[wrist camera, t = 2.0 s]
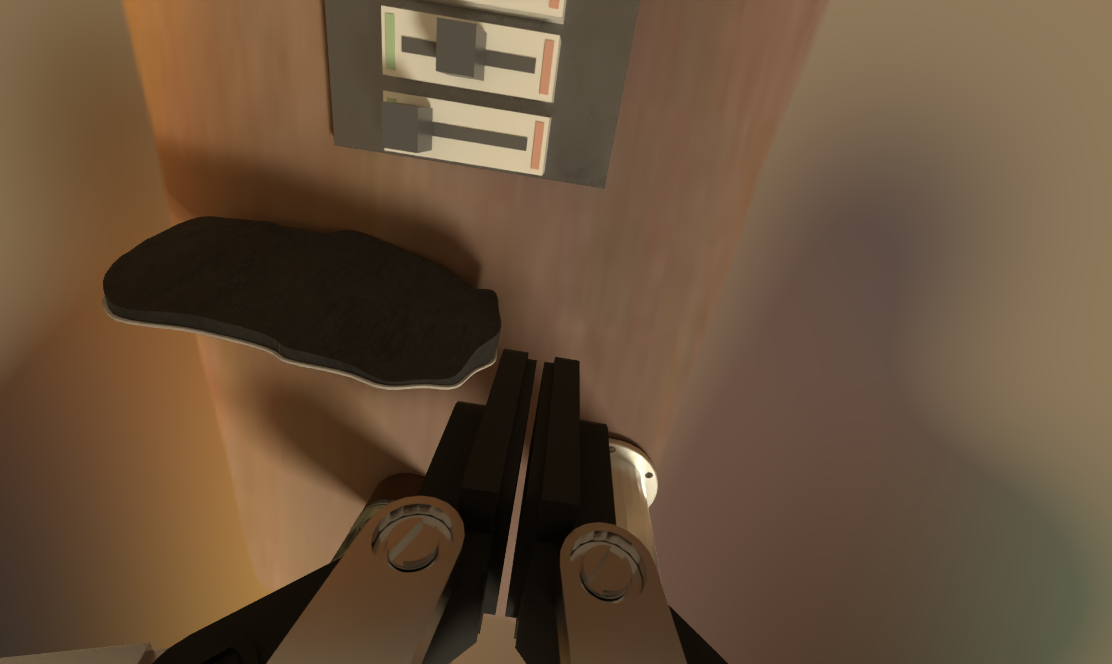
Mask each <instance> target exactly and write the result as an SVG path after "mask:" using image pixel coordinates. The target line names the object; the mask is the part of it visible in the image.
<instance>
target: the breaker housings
mask: <svg viewBox="0 0 1112 664" xmlns="http://www.w3.org/2000/svg"><path fill="white" fill-rule="evenodd" d="M421 1H427V2H433V3H439V4H445V5H451V6H457V7H463V8H469V9H475V10H481V11H487V12H493V13H499V14H505V15H511V16H516V17H522V18H528V19H534V20H540V21H546V22H552V23H558V24H564V16H565V8H566V0H421ZM437 17H438V18H444V19H450V20H456V21H462V22H468V23H474V24H477V25H478V26H480V27H481V28H482V29H483V30H484V31H485V32H486V33H487V39H486V54H485V70H484V81H480V80H474V79H468V78H462V77H456V76H450V75H447V74H444V73H440V72H437V71H436V34H437ZM381 25H382V68H383V75H388V76H392V77H397V78H403V79H409V80H415V81H421V82H428V83H434V84H440V85H446V86H452V87H458V88H464V89H470V90H476V91H482V92H488V93H494V94H501V95H507V96H513V97H519V98H525V99H531V100H537V101H543V102H549V103H553V102H554V94H555V86H556V78H557V71H558V63H559V55H560V47H561V38H560V35H554V34H548V33H543V32H537V31H531V30H525V29H519V28H513V27H507V26H501V25H495V24H489V23H483V22H477V21H471V20H465V19H459V18H453V17H447V16H441V15H435V14H429V13H423V12H417V11H411V10H405V9H399V8H393V7H387V6H381ZM383 101H386V102H398V103H404V104H411V105H417V106H423V107H429V108H433V121H432V150H430V151H426V152H421V153H413V152H407V151H401V150H394V149H388V148H384V150H385V151H391V152H398V153H404V154H410V155H416V156H422V157H429V158H435V159H441V160H447V161H454V162H460V163H466V164H472V165H478V166H485V167H491V168H497V169H503V170H509V171H516V172H522V173H528V174H534V175H540V176H542V175H543V174H544V172H545V164H546V156H547V149H548V141H549V133H550V125H551V118H550V117H544V116H538V115H532V114H526V113H520V112H514V111H507V110H501V109H495V108H489V107H483V106H477V105H471V104H465V103H459V102H452V101H446V100H440V99H434V98H428V97H422V96H416V95H410V94H404V93H397V92H391V91H383Z"/></svg>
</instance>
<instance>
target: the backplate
mask: <svg viewBox="0 0 1112 664" xmlns="http://www.w3.org/2000/svg"><path fill="white" fill-rule="evenodd" d="M324 1H325V15H326V29H327V44H328V58H329V72H330V87H331V101H332V115H333V130H334V144H335V145H337V146H344V147H350V148H356V149H362V150H368V151H375V152H381V153H387V154H393V155H399V156H406V157H412V158H418V159H424V160H431V161H437V162H443V163H449V164H455V165H462V166H468V167H474V168H480V169H486V170H493V171H499V172H505V173H511V174H518V175H524V176H530V177H536V178H542V179H549V180H555V181H561V182H567V183H573V184H580V185H586V186H592V187H598V188H605V183H606V177H607V172H608V167H609V161H610V156H611V151H612V145H613V140H614V135H615V129H616V124H617V119H618V113H619V108H620V103H621V97H622V92H623V87H624V81H625V76H626V71H627V66H628V60H629V55H630V50H631V44H632V39H633V34H634V28H635V23H636V18H637V12H638V7H639V2H640V0H566V8H565V16H564V24H558V23H552V22H546V21H540V20H534V19H528V18H522V17H516V16H511V15H505V14H499V13H493V12H487V11H481V10H475V9H469V8H463V7H457V6H451V5H445V4H439V3H433V2H427V1H421V0H324ZM381 6H387V7H393V8H399V9H405V10H411V11H417V12H423V13H429V14H435V15H441V16H447V17H453V18H459V19H465V20H471V21H477V22H483V23H489V24H495V25H501V26H507V27H513V28H519V29H525V30H531V31H537V32H543V33H548V34H554V35H560V38H561V47H560V55H559V63H558V71H557V78H556V86H555V94H554V102H553V103H549V102H543V101H537V100H531V99H525V98H519V97H513V96H507V95H501V94H494V93H488V92H482V91H476V90H470V89H464V88H458V87H452V86H446V85H440V84H434V83H428V82H421V81H415V80H409V79H403V78H397V77H392V76H388V75H383V68H382V25H381ZM383 91H391V92H397V93H404V94H410V95H416V96H422V97H428V98H434V99H440V100H446V101H452V102H459V103H465V104H471V105H477V106H483V107H489V108H495V109H501V110H507V111H514V112H520V113H526V114H532V115H538V116H544V117H550V118H551V125H550V133H549V141H548V149H547V156H546V164H545V172H544V174H543V175H542V176H540V175H534V174H528V173H522V172H516V171H509V170H503V169H497V168H491V167H485V166H478V165H472V164H466V163H460V162H454V161H447V160H441V159H435V158H429V157H422V156H416V155H410V154H404V153H398V152H391V151H385V150H384V148H382V122H381V101H383Z"/></svg>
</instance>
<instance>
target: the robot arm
mask: <svg viewBox="0 0 1112 664" xmlns="http://www.w3.org/2000/svg"><path fill="white" fill-rule="evenodd" d="M536 362H537V360H530V359H528V353H527V352H521V351H515V350H509V349H504V350H503V353H502V356H501V360H500V363H499V366H498V369H497V372H496V375H495V379H494V382H493V385H492V388H491V391H490V394H489V398H488V401H487V404H486V406H485V405H479V404H473V403H466V402H460V401H458V402H457V403H456V405H455V407H454V409H453V411H452V414H451V416H450V419H449V421H448V423H447V426H446V428H445V431H444V433H443V435H442V438H441V440H440V442H439V445H438V447H437V450H436V452H435V454H434V457H433V459H432V461H431V464H430V466H429V469H428V471H427V473H426V476H425V478H424V480H423V483H422V485H421V488H420V490H419V492H418V495H417V496H413V497H405V498H402V499H399V500H397V501H394V502H391V503H389V504H388V505H386V506H385V507H383V508H381V509H380V510H378V511H377V512H376V513H375V514H374V515H373V517H372V518H371V519H370V520H369V521H368V522H367V523H366V525H365V526H364V527H363V529H362V530H361V532H360V533H359V534H358V536H357V537H356V539H355V540H354V541H353V543H352V544H351V546H350V547H349V548H348V550H347V551H346V553H345V554H344V555H343V557H341V558H339V559H337V560H335V561H333V562H331V563H329V564H327V565H325V566H323V567H321V568H319V569H318V570H316V571H314V572H312V573H310V574H308V575H306V576H304V577H302V578H300V579H298V580H296V581H294V582H292V583H290V584H288V585H286V586H284V587H282V588H280V589H279V590H277V591H275V592H273V593H271V594H269V595H267V596H265V597H263V598H261V599H259V600H257V601H255V602H253V603H251V604H249V605H247V606H245V607H244V608H242V609H240V610H238V611H236V612H234V613H232V614H230V615H228V616H226V617H224V618H222V619H220V620H218V621H216V622H214V623H212V624H210V625H208V626H206V627H204V628H203V629H201V630H199V631H197V632H195V633H193V634H191V635H189V636H188V637H186V638H184V639H183V640H181V641H180V642H178V643H176V644H175V645H173V646H172V647H170V648H167V649H158V650H153V649H152V647H151V645H150V643H140V644H131V645H121V646H112V647H102V648H92V649H83V650H73V651H64V652H54V653H46V654H35V655H26V656H16V657H6V658H0V664H452V662H453V660H454V659H456V658H457V657H458V656H459V655H461V654H462V653H463V652H464V651H466V650H467V649H468V648H470V647H471V646H472V645H473V644H475V643H476V641H477V635H478V633H479V634H480V629H481V624H482V618H483V613H485V614H492V615H495V613H496V607H497V601H498V595H499V589H500V583H501V577H502V571H503V565H504V559H505V553H506V547H507V541H508V535H509V529H510V523H511V517H512V511H513V505H514V499H515V493H516V487H517V481H518V475H519V469H520V463H521V457H522V451H523V444H524V438H525V432H526V425H527V419H528V413H529V407H530V400H531V394H532V388H533V381H534V375H535V369H536ZM657 489H658V478H657V474H656V470H655V467H654V465H653V463H652V461H651V460H650V459H649V458H648V456H647V455H646V454H645V453H644V452H642V451H641V450H640V449H639V448H637V447H635V446H633V445H632V444H629V443H627V442H624V441H621V440H616V439H611V438H609V436H608V428H607V425H606V424H601V423H594V422H588V421H582V420H580V378H579V361H577V360H571V359H565V358H559V357H555V360H554V363H549V362H545V363H544V368H543V374H542V380H541V386H540V392H539V398H538V404H537V410H536V416H535V422H534V428H533V434H532V440H531V446H530V451H529V458H528V464H527V470H526V477H525V484H524V491H523V498H522V505H521V511H520V518H519V525H518V532H517V539H516V545H515V552H514V559H513V566H512V573H511V580H510V586H509V593H508V600H507V607H506V614H505V616H506V617H513V618H517V619H516V628H515V636H514V638H515V639H516V647H515V648H516V649H517V651H518V652H519V653H520V655H521V657H522V658H523V660H524V661H525V662H526V664H728V663H727V662H726V661H725V660H724V659H723V658H722V657H721V656H720V655H719V654H718V653H717V652H716V651H715V650H714V649H713V648H712V647H711V646H709V644H708V643H707V642H706V641H705V640H703V638H702V637H700V635H699V634H697V633H696V632H695V631H694V630H693V629H692V628H691V627H690V626H689V625H688V624H687V623H686V622H685V621H684V620H683V619H682V618H681V617H680V616H679V615H678V614H677V613H676V612H675V611H674V610H673V609H672V608H671V607H670V606H669V605H668V602H667V599H666V596H665V593H664V590H663V587H662V583H661V577H660V572H659V566H658V561H657V555H656V549H655V544H654V538H653V532H652V527H651V521H650V515H649V509H648V507H649V506H650V505H651V504H652V502H653V501H654V498H655V496H656V494H657Z"/></svg>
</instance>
